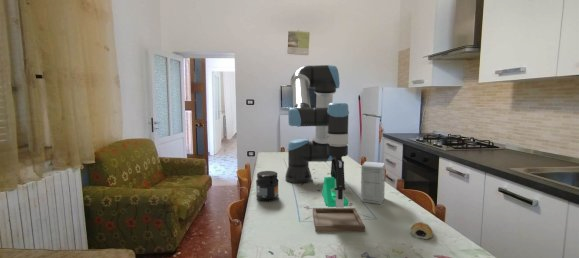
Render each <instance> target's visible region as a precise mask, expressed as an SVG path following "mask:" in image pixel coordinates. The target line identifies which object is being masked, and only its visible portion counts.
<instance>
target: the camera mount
mask: <svg viewBox="0 0 579 258" xmlns="http://www.w3.org/2000/svg"><path fill="white" fill-rule="evenodd" d="M334 188H335V179H334V177H331V176H324V178H323V186H322V191H321V195H322V197H323V204H324V205H325V207H327V208H336V191H334V192H331V189H334ZM348 207H349V200H348V199H347V197H346V196H345V195H344V208H348Z"/></svg>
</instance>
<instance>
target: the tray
mask: <svg viewBox="0 0 579 258" xmlns="http://www.w3.org/2000/svg"><path fill="white" fill-rule="evenodd" d="M312 219H313V224H314V230H315V231H314V232H332V233H333V232H334V233H335V232H340V233H341V232H355V233H356V232H365V230H366V227H365V224H364V222H363V220H362V219H361V216H360V215H359V213H358V211H357V209H356V208H355V207H344V208H336V207H312Z"/></svg>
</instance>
